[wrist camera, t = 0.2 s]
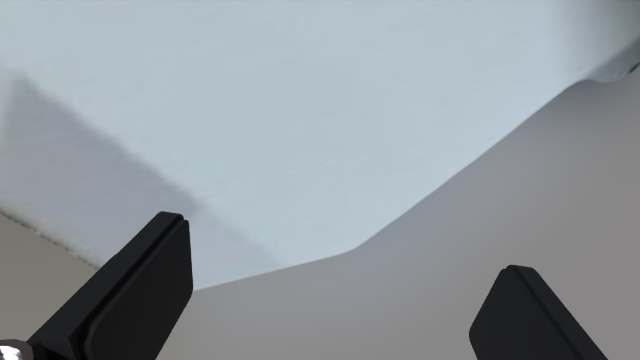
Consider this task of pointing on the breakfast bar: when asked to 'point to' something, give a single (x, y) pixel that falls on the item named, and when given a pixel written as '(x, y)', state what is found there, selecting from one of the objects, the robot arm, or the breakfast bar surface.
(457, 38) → the breakfast bar surface
